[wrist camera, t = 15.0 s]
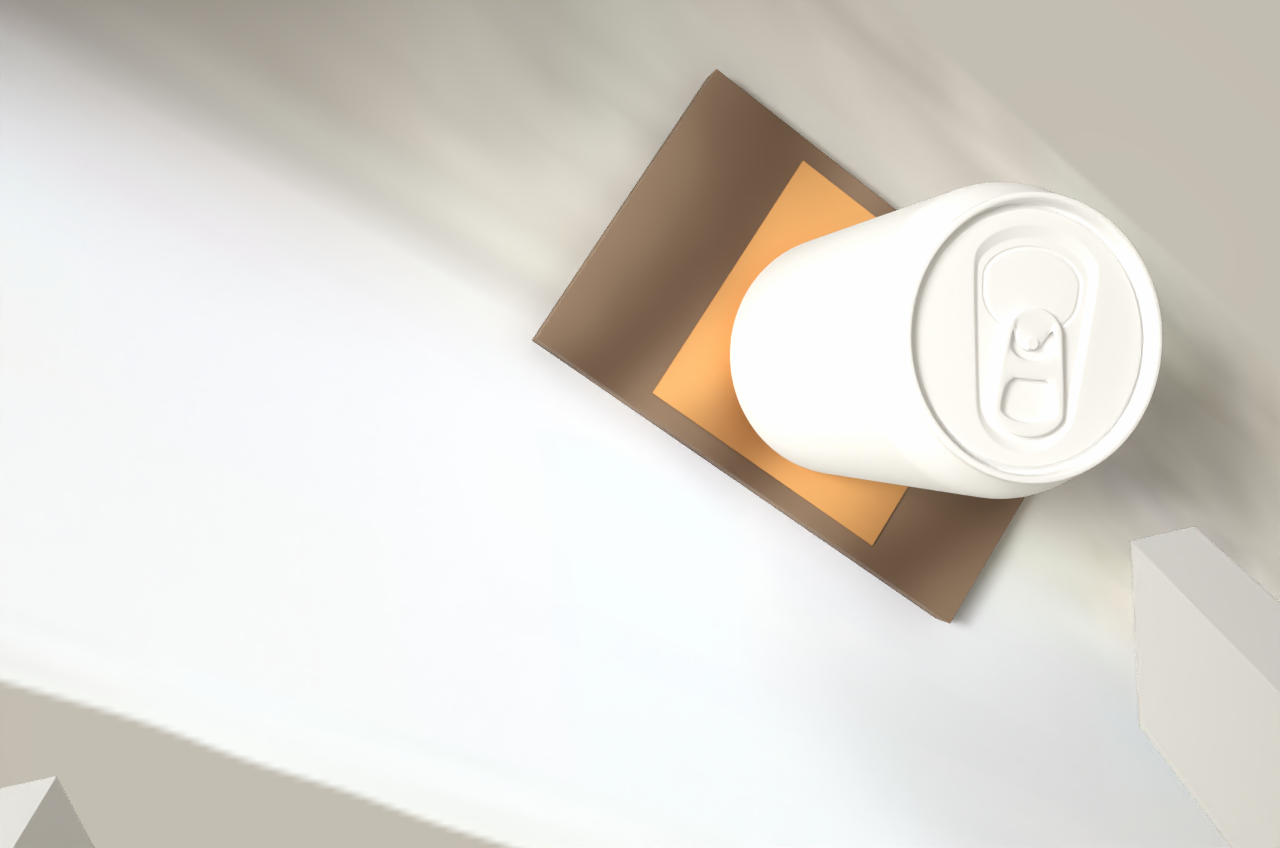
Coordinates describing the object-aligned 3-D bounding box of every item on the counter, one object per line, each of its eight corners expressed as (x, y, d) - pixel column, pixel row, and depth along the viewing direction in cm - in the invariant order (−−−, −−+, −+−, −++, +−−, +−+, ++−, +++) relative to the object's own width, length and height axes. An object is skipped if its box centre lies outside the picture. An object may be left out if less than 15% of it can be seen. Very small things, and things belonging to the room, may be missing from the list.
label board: (531, 340, 37) (537, 338, 36) (707, 77, 39) (717, 68, 38) (935, 618, 41) (951, 623, 40) (1082, 370, 43) (1101, 370, 42)
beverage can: (947, 253, 40) (1192, 193, 28) (929, 480, 40) (1167, 513, 28) (732, 226, 38) (900, 148, 26) (714, 465, 38) (873, 494, 26)
